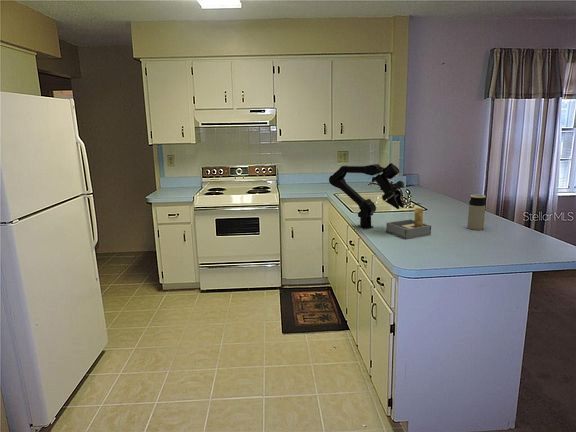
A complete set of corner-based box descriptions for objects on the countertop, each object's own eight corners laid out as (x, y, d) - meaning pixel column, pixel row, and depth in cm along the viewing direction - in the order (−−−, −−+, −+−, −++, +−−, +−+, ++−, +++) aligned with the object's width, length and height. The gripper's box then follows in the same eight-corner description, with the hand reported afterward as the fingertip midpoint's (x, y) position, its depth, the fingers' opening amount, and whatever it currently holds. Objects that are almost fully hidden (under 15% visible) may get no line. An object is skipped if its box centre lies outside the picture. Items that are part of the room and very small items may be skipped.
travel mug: (485, 230, 217) (488, 197, 213) (469, 230, 218) (471, 197, 214) (481, 226, 224) (484, 194, 220) (465, 226, 226) (468, 194, 222)
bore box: (386, 231, 219) (386, 222, 218) (410, 228, 225) (410, 219, 224) (405, 239, 205) (406, 229, 204) (430, 235, 211) (431, 225, 210)
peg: (412, 232, 213) (413, 209, 210) (415, 230, 216) (416, 207, 213) (420, 233, 211) (421, 210, 208) (423, 231, 214) (424, 208, 211)
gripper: (392, 175, 206) (409, 200, 203) (401, 175, 223) (417, 198, 219) (374, 187, 212) (391, 212, 208) (384, 187, 228) (400, 210, 224)
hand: (401, 208), depth 215 cm, fingers open, 9 cm apart
